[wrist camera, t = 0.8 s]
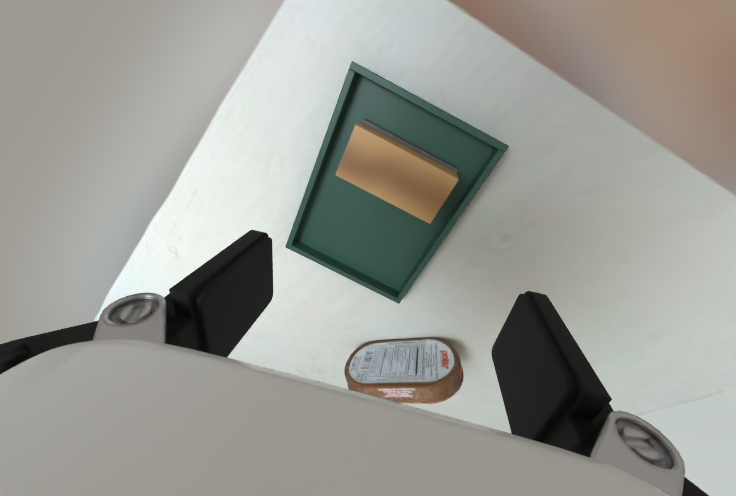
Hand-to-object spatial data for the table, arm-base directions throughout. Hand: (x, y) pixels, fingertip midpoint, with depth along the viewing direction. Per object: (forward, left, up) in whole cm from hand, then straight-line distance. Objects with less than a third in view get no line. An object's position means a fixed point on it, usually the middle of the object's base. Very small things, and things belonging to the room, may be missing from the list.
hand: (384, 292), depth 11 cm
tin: (+21, +11, -21) cm, 32 cm away
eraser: (0, -1, -20) cm, 20 cm away
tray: (+4, -1, -21) cm, 21 cm away
